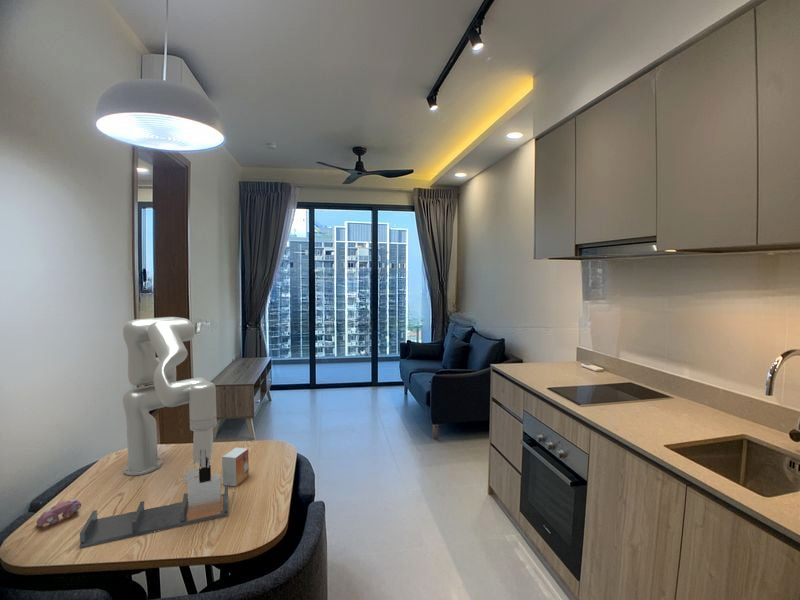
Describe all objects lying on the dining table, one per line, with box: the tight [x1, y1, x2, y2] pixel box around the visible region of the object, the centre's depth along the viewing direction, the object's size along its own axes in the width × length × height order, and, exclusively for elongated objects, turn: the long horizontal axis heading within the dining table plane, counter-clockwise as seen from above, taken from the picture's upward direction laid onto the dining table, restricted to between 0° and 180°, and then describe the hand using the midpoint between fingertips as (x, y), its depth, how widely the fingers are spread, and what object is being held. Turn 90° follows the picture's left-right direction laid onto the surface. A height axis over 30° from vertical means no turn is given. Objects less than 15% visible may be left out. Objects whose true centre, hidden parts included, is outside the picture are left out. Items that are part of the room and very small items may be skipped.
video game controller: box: [36, 498, 82, 528], centre depth 118 cm, size 10×5×7 cm, turn 150°
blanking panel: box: [187, 473, 222, 513], centre depth 123 cm, size 4×9×9 cm, turn 113°
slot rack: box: [79, 485, 229, 549], centre depth 119 cm, size 12×37×4 cm, turn 113°
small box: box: [221, 447, 250, 487], centre depth 141 cm, size 8×6×10 cm
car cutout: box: [182, 467, 199, 483], centre depth 139 cm, size 15×7×4 cm, turn 162°
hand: (205, 479), depth 123 cm, fingers closed
